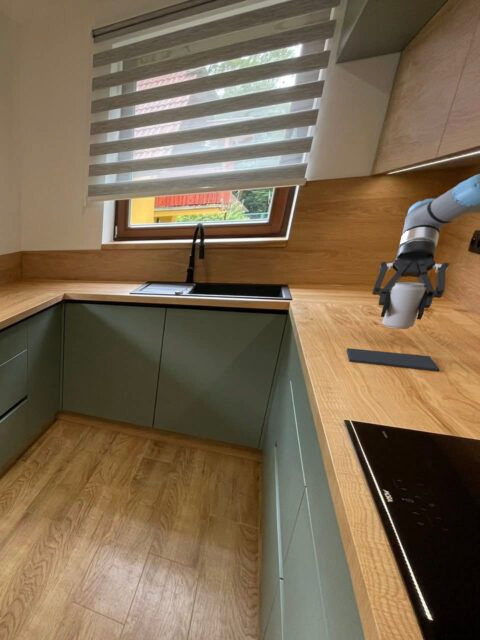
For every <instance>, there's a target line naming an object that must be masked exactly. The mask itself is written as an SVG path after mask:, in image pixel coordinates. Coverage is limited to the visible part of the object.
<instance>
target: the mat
mask: <svg viewBox="0 0 480 640" xmlns="http://www.w3.org/2000/svg"><path fill="white" fill-rule="evenodd" d="M346 353H347V358H348V362H351V363H359V364H369V365H378V366H387V367H395V368H396V367H397V368H405V369H413V370H422V371H429V372H430V371H431V372H440V370H441V369H440V368H439V366H438V365H437V364H436V363H435V361H434V360H433V359H432V357H431V356H430V355H423V354H422V355H421V354H411V353H401V352H391V351H380V350H370V349H361V348H351V347H348V348H346Z"/></svg>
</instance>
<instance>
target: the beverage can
mask: <svg viewBox="0 0 480 640" xmlns="http://www.w3.org/2000/svg"><path fill="white" fill-rule="evenodd" d="M424 285H425V284H423V283H420V282H411V281H410V282H405V281H401V282H399V281H398V282H397V283H395V286H394V287H392V289H391V291H390V292H391V294H390V298H389V302H388V306H387V310H386V313H385V316H384V317H382V321H381V324H382V325H384V327H386V328H388V329H389V328H390V329H396V330H407V329H410V328H412V327H414V326H415V323H416V321H417V316H418V311H419V307H420V304H421V301H422V298H423V295H424V292H425V288H424Z"/></svg>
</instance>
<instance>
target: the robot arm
mask: <svg viewBox="0 0 480 640" xmlns="http://www.w3.org/2000/svg"><path fill="white" fill-rule="evenodd" d="M467 214H480V173H478V174H475V175H473V176H471V177H469V178H468V179H465V180H463V181H461V182H460V183H458V184H456V185H455V186H454V187H452V188H450V189H449V190H447V191H446V192H444V193H443V194H441V195H439V196H438V197H436V198H425V199H424V200H419V201H417V202H415V203H413V204H412V205H411V206H410V207H409V208H408V211H407V214H406V215H405V217H404V225H403V229H402V232H401V237H400V241H399V246H398V249H397V253H396V257H395V260H394V261H393V262H388V263H387V261H382V262H380V264H379V268H378V271H379V274H378V276H377V279H376V281H375V284H374V286H373V289H372V292H371V294H372V295H374V296H376V295H377V296H379V299H378V302H377V305H378V306H382V309H381V313H380V318H384V316H385V313H386V310H387V306H388V302H389V298H390V294H391V290H392V287H394V286H395V283H399V281H401V279H402V278H408V277H412V278H416V279H417V281H418V283H423V284H425V285H424V288H425V292H424V295H423V298H422V301H421V304H420V307H419V310H418V314H417V317H416V320H422V318H423V316H424V313H425V309H429V308H430V307H431V306H432V304H433V299H435V298H437V299H440V298H442V297H443V295H444V293H445V290H446V272H447V270H448V268H449V266H450V263H449V262H443V263H437V262H436V261H435V255H436V251H437V247H438V242H439V237H440V233H441V232H440V231H441V229H442V227H444V226H446V225H448V224H449V223H452V222H454V221H455V220H457V219H459V218H461V217H463V216H465V215H467ZM390 269H393V270H394V271H395V274H394V275H393V276H392V277H391V278H390V280H389V281H388V282H387V283H386V284H385V286H384V287H383V288H381V287H382V284H383V283H384V279H385V277H386V275H387V273H388V272H389V271H390ZM433 269H434V272H435V274H436V278H435V289H434V287H433V285H432V282H431V279H430V277H429V274H428V272H429V271H431V270H433Z"/></svg>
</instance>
